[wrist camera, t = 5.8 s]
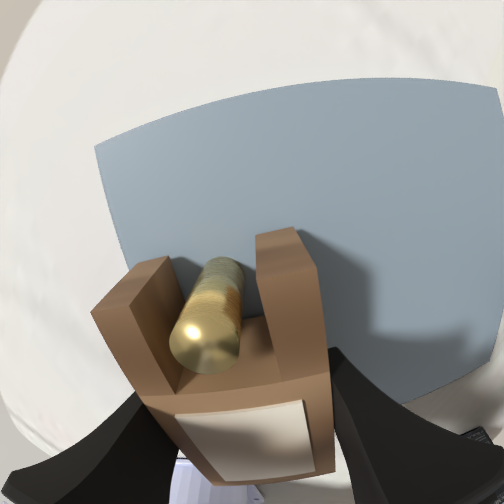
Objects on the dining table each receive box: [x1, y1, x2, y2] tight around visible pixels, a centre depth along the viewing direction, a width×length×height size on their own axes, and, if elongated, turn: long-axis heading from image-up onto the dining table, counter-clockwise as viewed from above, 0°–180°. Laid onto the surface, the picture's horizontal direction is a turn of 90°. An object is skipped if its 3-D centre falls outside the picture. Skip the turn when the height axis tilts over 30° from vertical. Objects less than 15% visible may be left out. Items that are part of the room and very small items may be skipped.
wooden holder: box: [90, 227, 335, 486], centre depth 9 cm, size 10×6×4 cm, turn 13°
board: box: [94, 78, 504, 405], centre depth 10 cm, size 16×18×1 cm
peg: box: [169, 256, 245, 374], centre depth 8 cm, size 2×2×4 cm
